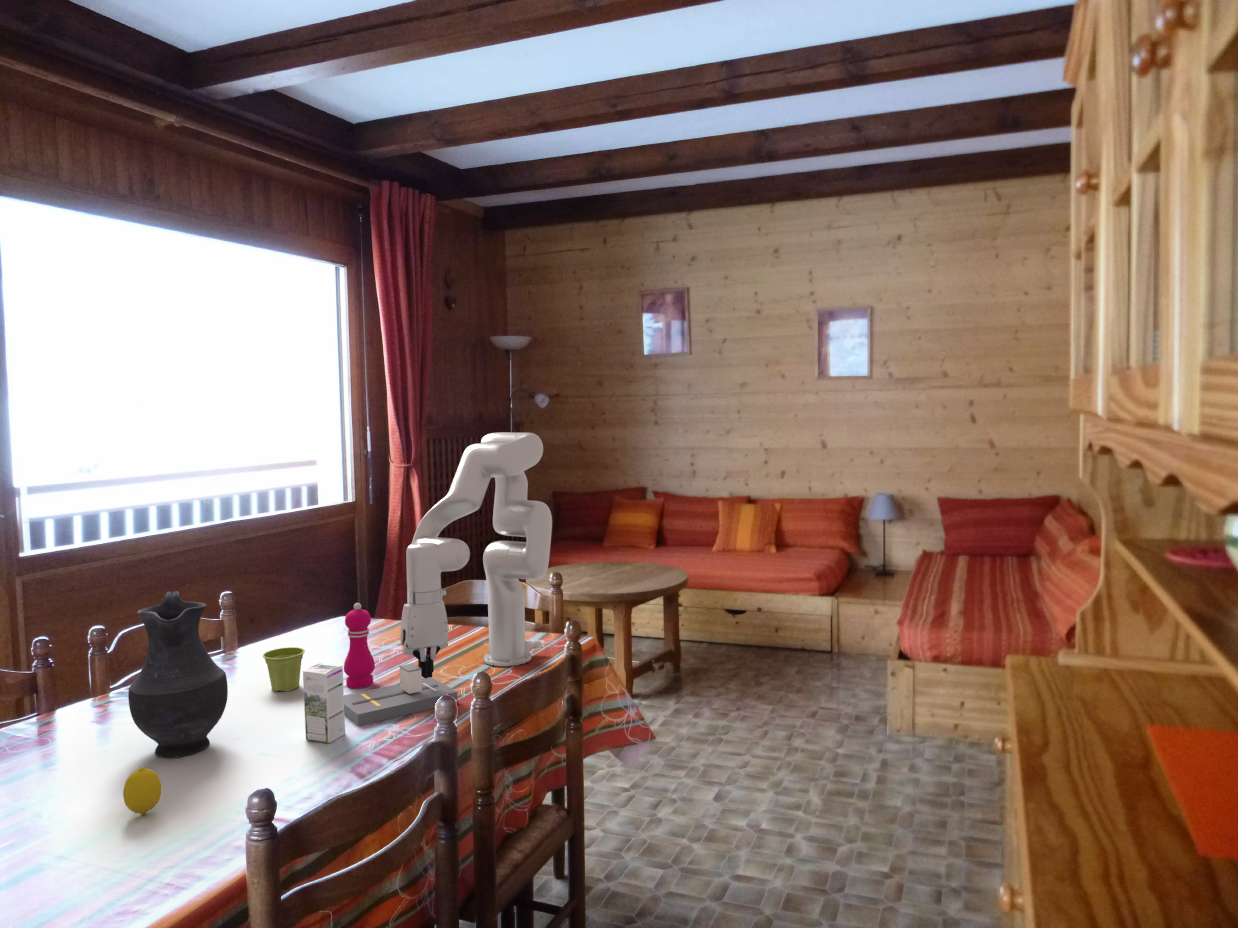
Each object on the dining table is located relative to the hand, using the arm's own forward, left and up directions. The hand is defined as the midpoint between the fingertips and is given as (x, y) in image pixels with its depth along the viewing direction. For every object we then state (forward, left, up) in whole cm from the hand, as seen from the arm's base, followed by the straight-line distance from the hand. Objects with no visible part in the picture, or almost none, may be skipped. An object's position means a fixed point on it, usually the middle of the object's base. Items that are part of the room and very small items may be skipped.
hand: (426, 676), depth 199 cm
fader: (+4, 0, -2) cm, 4 cm away
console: (+7, 0, -5) cm, 9 cm away
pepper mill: (+8, -20, -6) cm, 22 cm away
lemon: (+61, +24, -6) cm, 66 cm away
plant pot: (+23, -29, -6) cm, 38 cm away
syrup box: (+26, +9, -6) cm, 28 cm away
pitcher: (+50, -5, -6) cm, 51 cm away
